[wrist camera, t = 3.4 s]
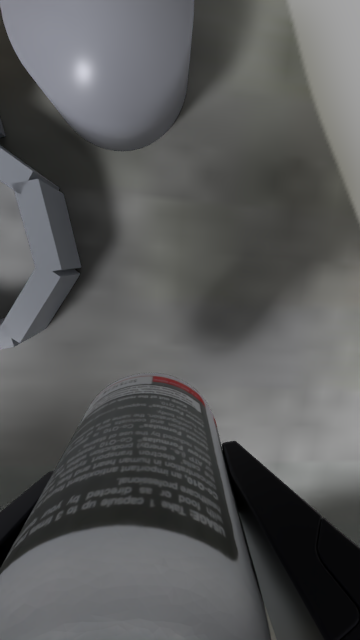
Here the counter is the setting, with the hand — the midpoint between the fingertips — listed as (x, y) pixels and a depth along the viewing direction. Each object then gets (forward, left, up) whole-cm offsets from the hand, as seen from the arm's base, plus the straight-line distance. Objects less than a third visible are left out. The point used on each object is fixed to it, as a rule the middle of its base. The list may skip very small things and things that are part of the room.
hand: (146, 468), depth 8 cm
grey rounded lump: (+14, -1, -7) cm, 16 cm away
